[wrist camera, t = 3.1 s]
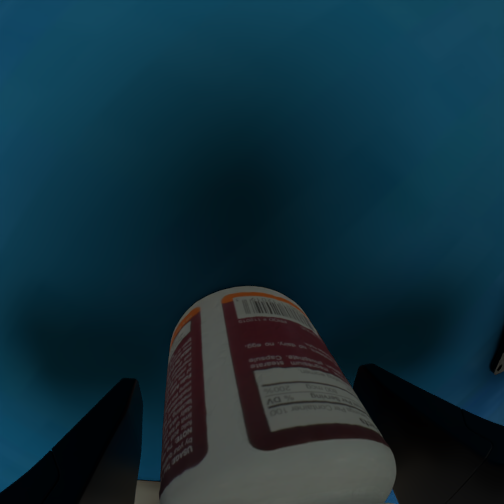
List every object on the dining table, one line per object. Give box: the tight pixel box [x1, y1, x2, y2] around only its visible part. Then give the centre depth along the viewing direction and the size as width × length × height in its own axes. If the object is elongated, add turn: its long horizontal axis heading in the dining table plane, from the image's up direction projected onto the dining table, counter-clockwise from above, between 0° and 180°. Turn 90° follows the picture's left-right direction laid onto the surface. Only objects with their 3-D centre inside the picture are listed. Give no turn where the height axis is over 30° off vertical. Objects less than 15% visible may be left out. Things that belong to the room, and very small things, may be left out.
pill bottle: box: [159, 286, 396, 504], centre depth 6 cm, size 5×5×8 cm
